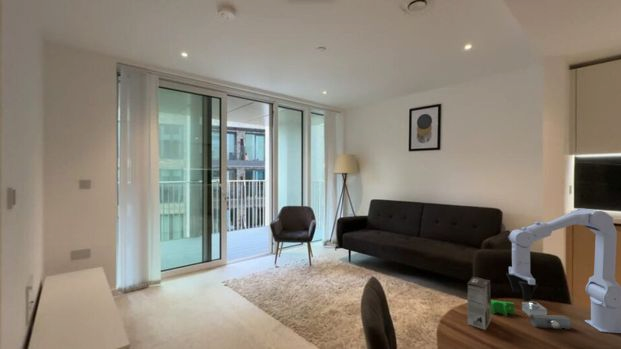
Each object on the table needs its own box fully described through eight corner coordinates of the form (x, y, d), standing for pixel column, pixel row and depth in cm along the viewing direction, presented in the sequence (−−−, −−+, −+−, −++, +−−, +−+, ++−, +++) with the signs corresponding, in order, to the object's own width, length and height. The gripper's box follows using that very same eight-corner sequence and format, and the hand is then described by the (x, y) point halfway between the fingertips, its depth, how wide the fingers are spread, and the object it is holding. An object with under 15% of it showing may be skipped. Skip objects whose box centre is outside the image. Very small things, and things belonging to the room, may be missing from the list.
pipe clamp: (483, 313, 121) (483, 302, 121) (482, 309, 125) (482, 298, 125) (515, 317, 117) (515, 306, 117) (513, 313, 120) (513, 302, 120)
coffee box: (473, 315, 119) (472, 276, 119) (491, 321, 114) (491, 279, 114) (467, 324, 112) (466, 282, 112) (486, 330, 108) (485, 286, 108)
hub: (537, 311, 122) (537, 300, 122) (547, 318, 116) (546, 306, 116) (522, 310, 123) (521, 299, 123) (530, 317, 117) (530, 305, 117)
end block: (565, 325, 110) (565, 315, 110) (574, 331, 106) (574, 322, 106) (530, 323, 112) (530, 314, 112) (537, 329, 108) (537, 320, 108)
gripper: (500, 255, 121) (500, 288, 121) (520, 266, 106) (520, 304, 106) (519, 256, 120) (519, 289, 120) (541, 267, 105) (542, 305, 105)
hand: (521, 296), depth 113 cm, fingers open, 7 cm apart
